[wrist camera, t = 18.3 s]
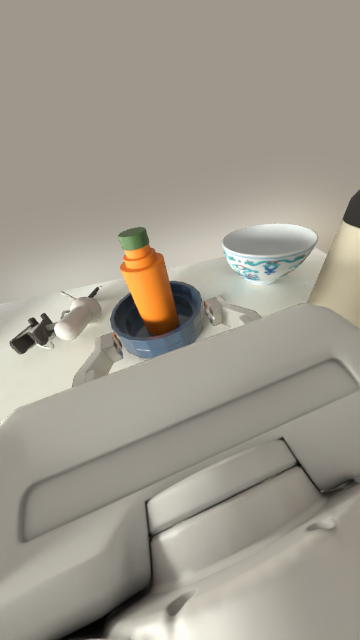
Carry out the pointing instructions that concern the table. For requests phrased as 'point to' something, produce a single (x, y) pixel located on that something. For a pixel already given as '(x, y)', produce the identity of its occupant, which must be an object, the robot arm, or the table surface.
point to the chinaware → (268, 250)
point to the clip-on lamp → (59, 324)
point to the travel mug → (342, 269)
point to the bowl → (150, 346)
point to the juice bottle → (148, 282)
